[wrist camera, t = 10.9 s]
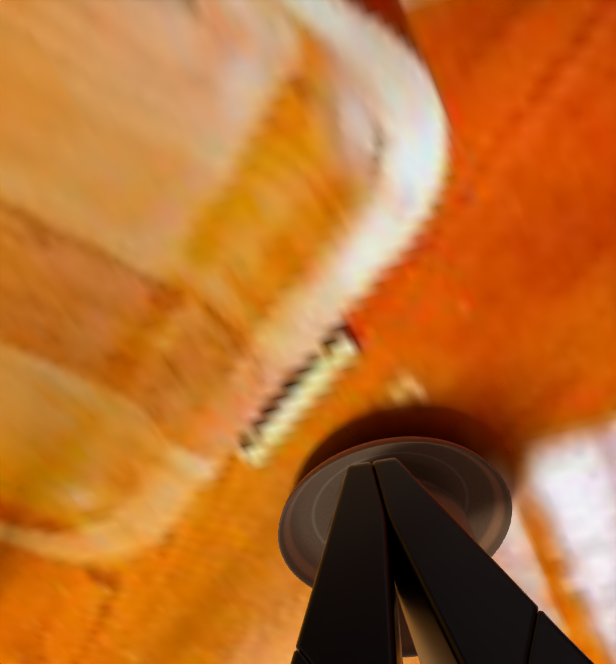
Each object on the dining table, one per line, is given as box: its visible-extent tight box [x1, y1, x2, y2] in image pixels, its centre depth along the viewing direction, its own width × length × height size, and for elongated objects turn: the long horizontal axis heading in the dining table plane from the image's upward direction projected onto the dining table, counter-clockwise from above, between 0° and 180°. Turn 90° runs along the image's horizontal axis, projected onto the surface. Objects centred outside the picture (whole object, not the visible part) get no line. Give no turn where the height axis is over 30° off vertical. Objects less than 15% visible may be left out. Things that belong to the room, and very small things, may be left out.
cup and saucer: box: [278, 436, 512, 657], centre depth 26 cm, size 12×12×6 cm
